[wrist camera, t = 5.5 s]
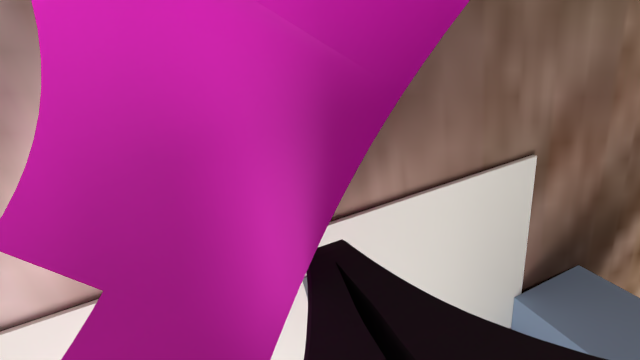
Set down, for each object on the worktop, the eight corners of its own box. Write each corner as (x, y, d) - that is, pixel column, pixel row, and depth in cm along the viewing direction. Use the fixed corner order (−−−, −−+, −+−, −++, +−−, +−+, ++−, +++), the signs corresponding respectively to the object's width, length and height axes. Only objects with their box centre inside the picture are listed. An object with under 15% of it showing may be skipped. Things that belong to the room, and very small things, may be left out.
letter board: (514, 322, 19) (518, 325, 19) (133, 494, 15) (132, 501, 14) (533, 154, 14) (538, 156, 14) (-14, 336, 10) (-20, 342, 10)
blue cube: (566, 323, 21) (664, 393, 16) (508, 355, 19) (597, 441, 15) (578, 265, 19) (695, 328, 14) (514, 297, 17) (619, 377, 13)
